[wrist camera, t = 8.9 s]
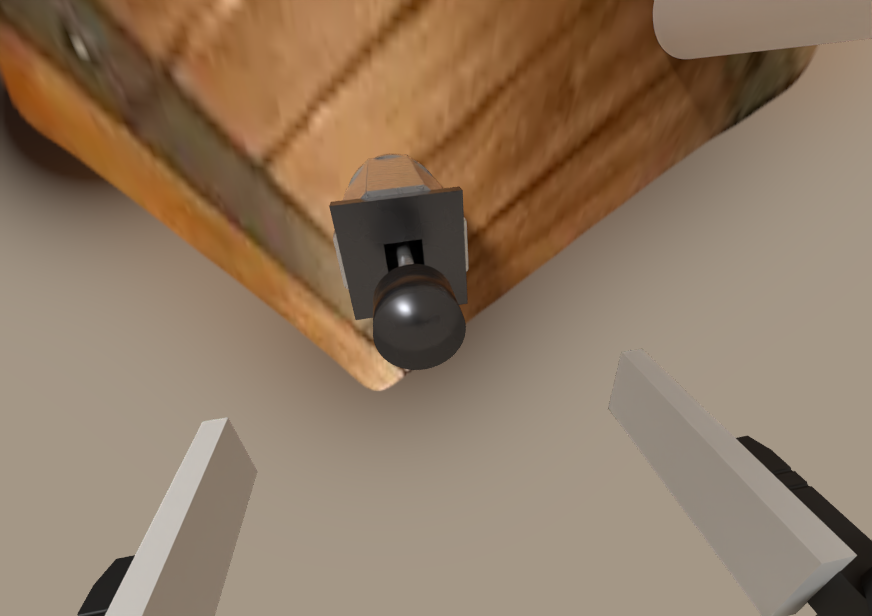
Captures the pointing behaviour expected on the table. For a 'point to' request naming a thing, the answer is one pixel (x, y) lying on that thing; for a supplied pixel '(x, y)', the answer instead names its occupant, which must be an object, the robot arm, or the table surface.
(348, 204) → the press carafe
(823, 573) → the robot arm
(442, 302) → the plunger
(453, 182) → the table surface
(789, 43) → the cylinder container
